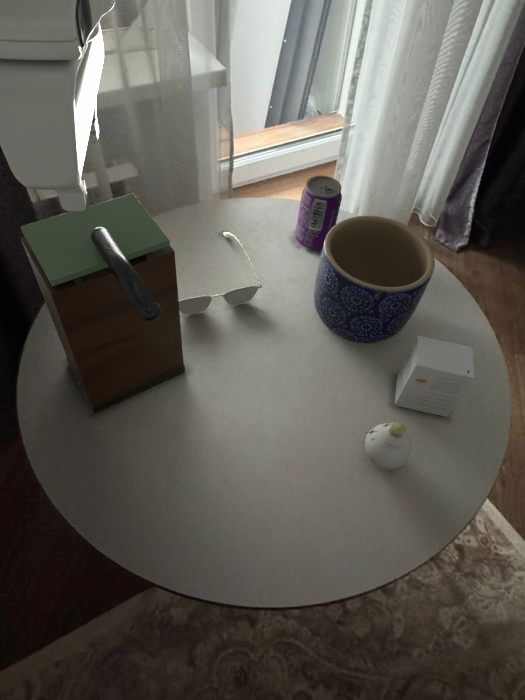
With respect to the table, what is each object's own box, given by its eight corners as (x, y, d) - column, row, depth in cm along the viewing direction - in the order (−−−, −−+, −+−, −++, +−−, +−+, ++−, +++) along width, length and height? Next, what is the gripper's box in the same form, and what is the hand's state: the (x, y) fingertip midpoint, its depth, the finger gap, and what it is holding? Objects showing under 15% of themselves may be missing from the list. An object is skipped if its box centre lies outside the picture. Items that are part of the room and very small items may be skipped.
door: (215, 305, 51) (216, 285, 49) (90, 356, 46) (84, 338, 44) (133, 198, 61) (130, 178, 59) (22, 231, 56) (14, 211, 54)
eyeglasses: (172, 319, 82) (170, 302, 79) (149, 246, 92) (146, 229, 89) (261, 300, 86) (263, 284, 83) (229, 233, 96) (230, 216, 93)
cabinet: (185, 372, 76) (175, 246, 56) (94, 414, 71) (48, 290, 51) (155, 327, 81) (136, 196, 61) (68, 362, 75) (17, 231, 56)
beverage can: (338, 244, 96) (352, 190, 87) (309, 257, 94) (320, 203, 84) (316, 223, 100) (327, 169, 90) (287, 235, 97) (295, 180, 87)
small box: (447, 388, 78) (475, 346, 70) (447, 418, 75) (476, 378, 66) (395, 376, 79) (417, 333, 70) (393, 406, 75) (415, 365, 67)
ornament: (409, 473, 69) (434, 439, 61) (357, 480, 68) (376, 447, 60) (395, 434, 72) (417, 397, 64) (345, 440, 71) (362, 403, 63)
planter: (332, 366, 79) (352, 301, 67) (294, 291, 88) (306, 223, 76) (423, 344, 83) (458, 279, 71) (378, 275, 92) (402, 207, 80)
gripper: (15, -83, 37) (60, 105, 48) (-66, 35, 24) (20, 252, 35) (105, -77, 37) (129, 107, 48) (70, 41, 25) (112, 252, 36)
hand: (82, 170), depth 42 cm, fingers open, 8 cm apart
